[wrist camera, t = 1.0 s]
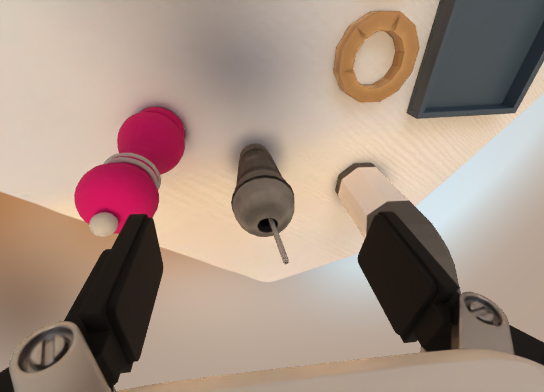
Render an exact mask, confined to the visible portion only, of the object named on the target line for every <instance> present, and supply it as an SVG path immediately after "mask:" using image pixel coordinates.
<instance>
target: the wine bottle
mask: <svg viewBox="0 0 544 392" xmlns="http://www.w3.org/2000/svg"><path fill="white" fill-rule="evenodd" d="M336 193H337V195H338V196H339V198H340V200H341V201H342V203H343V204H344V206H345V208H346V209H347V211H348V213H349V214H350V216H351V217H352V219H353V221H354V222H355V224H356V225H357V227H358V229H359V230H360V232H361V234H362V235H363V237H364V238H366V235H367V233H368V230H369V228H370V225H371V223H372V220H373V218H374V216H375V215H377V214H378V213H379V212H381V211H392V212H394V213H396V215H397V216H398V217H399V218H400V219H401V220H402V221H403V223H404V224H405V225H406V226H407V227H408V228H409V229H410V231H411V232H412V233H413V234H414V235H415V236H416V238H417V239H418V240H419V241H420V242H421V243H422V244H423V246H424V247H425V248H426V249H427V250H428V251H429V252H430V254H431V255H432V256H433V257H434V258H435V259H436V261H437V262H438V263H439V264H440V265H441V266H442V267H443V269H444V270H445V271H446V272H447V273H448V274H449V275H450V277H451V278H452V279H453V280H454V281H455V282H456V284H457V285H458V286H459V284H458V279H457V274H456V269H455V264H454V262H453V259H452V257H451V255H450V252H449V250H448V248H447V246H446V245H445V243H444V241H443V240H442V238H441V236H440V235H439V233H438V232H437V230H436V229H435V228H434V226H433V225H432V223H431V222H430V221H429V220H427V218H426V217H425V216H424V215H423V214H422V213H421V212H420V211H419V210H418V209H417V208H416V207H415V206H414V205H413V204H412V203H411V202H410V201H409V200H408V199H407V198H406V197H405V196H404V195H403V194H402V193H401V192H400V191H399V190H398V189H397V188H396V187H395V186H394V185H393V184H392V183H391V182H390V181H389V180H388V179H387V178H386V177H385V176H384V175H383V174H382V173H381V172H380V171H379V170H378V169H377V168H376V167H375V166H374V165H373V164H371V163H355V164H353V165H351V166H350V167H349V168H347V169H346V170H345V171H344V172H342V173H341V174H340V175H339V177H338V181H337V185H336ZM457 292H458V293H459V294H460V295H461V292H460V288H459V289H458V291H457Z"/></svg>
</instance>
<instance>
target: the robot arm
mask: <svg viewBox="0 0 544 392" xmlns="http://www.w3.org/2000/svg"><path fill="white" fill-rule="evenodd" d="M358 263H359V265H360V267H361V269H362V271H363V273H364V275H365V277H366V278H367V280H368V282H369V284H370V286H371V288H372V290H373V292H374V293H375V295H376V297H377V299H378V301H379V303H380V305H381V307H382V308H383V310H384V312H385V314H386V316H387V318H388V320H389V321H390V323H391V325H392V327H393V329H394V331H395V332H396V333H397V334H398V335H400V337H401V338H402V340H403V342H404V343H408V342H416V341H417V340H418V341H419V343H420V344H421V351H420V353H413V354H402V355H393V356H384V357H375V358H366V359H357V360H349V361H339V362H330V363H322V364H313V365H305V366H295V367H287V368H278V369H270V370H261V371H253V372H245V373H236V374H228V375H220V376H211V377H203V378H196V379H188V380H182V381H174V382H166V383H159V384H152V385H147V386H141V387H136V388H130V389H125V390H121V391H117V392H544V343H543V342H542V341H539V340H537V339H536V338H534V337H532V336H530V335H528V334H526V333H524V332H522V331H520V330H518V329H516V328H514V327H512V326H511V325H509V322H508V320H507V317H506V315H505V314H504V312H503V311H502V310H501V309H500V308H499V307H498V306H497V305H496V304H495V303H494V302H492V301H491V300H489V299H488V298H486V297H484V296H482V295H480V294H477V293H473V292H465V293H462V294H461V295H460V294H459V293H458V292H457V291H458V289H459V288H460V287H459V286H458V285H457V284H456V282H455V281H454V280H453V279H452V278H451V277H450V275H449V274H448V273H447V272H446V271H445V270H444V269H443V267H442V266H441V265H440V264H439V263H438V262H437V261H436V259H435V258H434V257H433V256H432V255H431V254H430V252H429V251H428V250H427V249H426V248H425V247H424V246H423V244H422V243H421V242H420V241H419V240H418V239H417V238H416V236H415V235H414V234H413V233H412V232H411V231H410V229H409V228H408V227H407V226H406V225H405V224H404V223H403V221H402V220H401V219H400V218H399V217H398V216H397V215H396V213H394V212H392V211H381V212H379V213H378V214H377V215H375V216H374V218H373V220H372V223H371V225H370V228H369V230H368V233H367V235H366V238H365V240H364V243H363V245H362V248H361V250H360V252H359V255H358ZM162 273H163V262H162V257H161V252H160V248H159V243H158V238H157V234H156V229H155V224H154V220H153V218H149V217H148V215H147V214H130V215H129V216H128V218H127V220H126V222H125V224H124V226H123V228H122V230H121V231H120V233H119V235H118V237H117V239H116V241H115V243H114V245H113V247H112V249H106V250H105V251H103V253H102V254H101V255H100V257H99V259H98V261H97V263H96V265H95V266H94V268H93V270H92V272H91V273H90V275H89V277H88V279H87V281H86V282H85V284H84V286H83V288H82V290H81V291H80V293H79V295H78V297H77V298H76V300H75V302H74V304H73V306H72V307H71V309H70V311H69V313H68V315H67V316H66V318H65V320H64V321H59V322H55V323H51V324H48V325H46V326H44V327H42V328H39V329H38V330H36V331H35V332H33V333H32V334H31V335H29V336H28V337H27V338H26V339H25V340H24V341H22V342H21V343H20V345H19V346H18V347H17V349H16V350H15V351H14V353H13V355H12V357H11V360H10V362H9V367H8V368H7V369H5V370H3V371H2V372H0V392H116V390H115V388H114V385H115V384H116V383H117V382H118V379H119V375H120V373H127V372H131V369H132V365H133V362H134V361H138V360H139V358H140V355H141V351H142V348H143V344H144V340H145V337H146V333H147V329H148V326H149V322H150V318H151V314H152V311H153V307H154V303H155V299H156V296H157V292H158V288H159V285H160V281H161V277H162Z"/></svg>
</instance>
